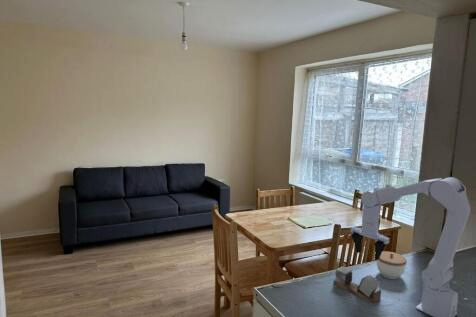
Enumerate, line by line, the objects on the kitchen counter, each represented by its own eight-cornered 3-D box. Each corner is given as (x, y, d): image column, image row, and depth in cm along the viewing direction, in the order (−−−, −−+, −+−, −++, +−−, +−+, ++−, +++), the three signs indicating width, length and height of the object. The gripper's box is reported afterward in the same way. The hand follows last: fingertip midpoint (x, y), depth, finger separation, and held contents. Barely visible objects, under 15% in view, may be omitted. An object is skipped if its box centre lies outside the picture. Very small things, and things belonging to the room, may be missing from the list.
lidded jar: (397, 285, 120) (399, 262, 118) (370, 274, 128) (371, 252, 127) (409, 276, 127) (411, 254, 125) (383, 266, 135) (384, 245, 133)
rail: (380, 298, 111) (381, 283, 110) (373, 303, 108) (375, 287, 107) (340, 279, 123) (341, 265, 123) (333, 283, 121) (334, 269, 120)
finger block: (374, 293, 112) (379, 282, 110) (368, 297, 110) (373, 286, 108) (363, 284, 115) (368, 273, 114) (357, 287, 113) (362, 277, 111)
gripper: (394, 224, 117) (391, 259, 119) (358, 214, 128) (356, 246, 130) (385, 229, 113) (381, 265, 115) (348, 217, 124) (346, 251, 126)
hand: (367, 255), depth 122 cm, fingers open, 7 cm apart
